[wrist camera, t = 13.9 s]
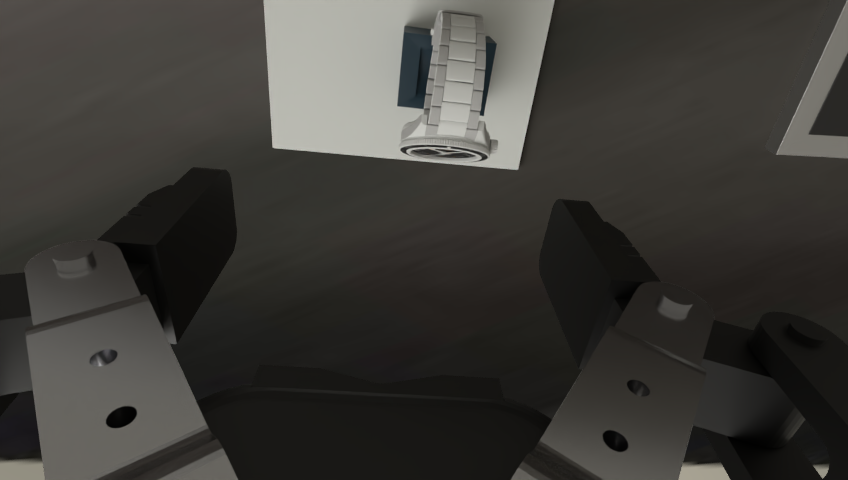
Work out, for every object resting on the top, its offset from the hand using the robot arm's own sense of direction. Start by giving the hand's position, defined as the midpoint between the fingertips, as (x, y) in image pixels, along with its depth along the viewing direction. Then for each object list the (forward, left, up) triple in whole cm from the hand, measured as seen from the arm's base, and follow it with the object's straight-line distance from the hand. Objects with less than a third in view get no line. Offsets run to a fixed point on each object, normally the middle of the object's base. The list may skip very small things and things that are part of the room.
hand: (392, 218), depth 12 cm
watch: (+3, 0, -23) cm, 23 cm away
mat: (0, 0, -23) cm, 23 cm away
